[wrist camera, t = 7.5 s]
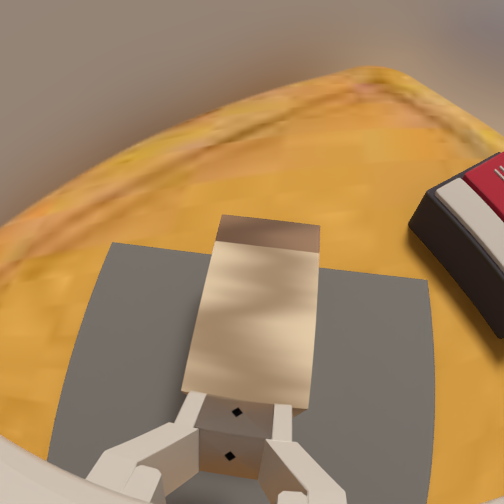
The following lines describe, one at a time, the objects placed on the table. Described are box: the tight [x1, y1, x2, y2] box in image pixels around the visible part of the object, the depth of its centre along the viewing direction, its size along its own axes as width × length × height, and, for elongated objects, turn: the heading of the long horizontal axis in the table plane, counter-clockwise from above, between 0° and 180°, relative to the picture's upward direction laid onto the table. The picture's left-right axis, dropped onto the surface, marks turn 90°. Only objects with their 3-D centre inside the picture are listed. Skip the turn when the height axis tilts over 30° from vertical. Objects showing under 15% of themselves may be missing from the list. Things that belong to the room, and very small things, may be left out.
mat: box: [47, 242, 435, 504], centre depth 15 cm, size 20×15×1 cm
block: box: [181, 215, 320, 418], centre depth 14 cm, size 4×4×8 cm
